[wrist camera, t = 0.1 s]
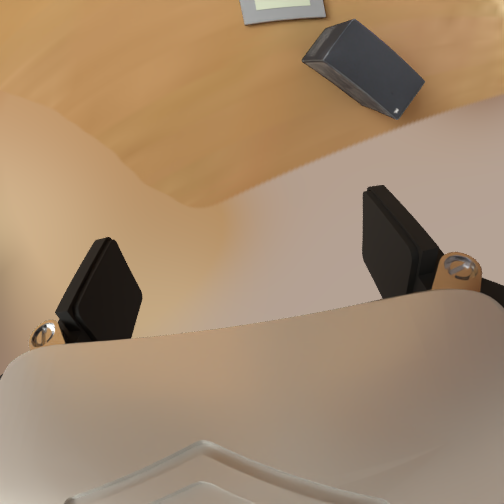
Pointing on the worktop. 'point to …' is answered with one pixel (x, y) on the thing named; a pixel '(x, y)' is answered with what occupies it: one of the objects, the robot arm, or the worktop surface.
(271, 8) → the grey square plate
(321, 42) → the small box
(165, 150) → the worktop surface
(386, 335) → the robot arm
